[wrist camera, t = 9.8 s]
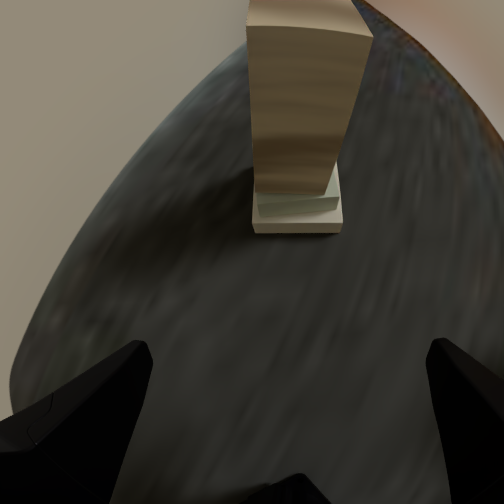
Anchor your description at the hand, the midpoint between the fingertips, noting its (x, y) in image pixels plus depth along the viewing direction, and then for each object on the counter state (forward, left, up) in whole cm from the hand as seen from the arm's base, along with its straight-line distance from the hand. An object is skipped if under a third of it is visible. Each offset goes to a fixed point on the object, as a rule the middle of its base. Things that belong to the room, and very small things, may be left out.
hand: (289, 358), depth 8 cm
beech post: (+11, -8, -9) cm, 17 cm away
